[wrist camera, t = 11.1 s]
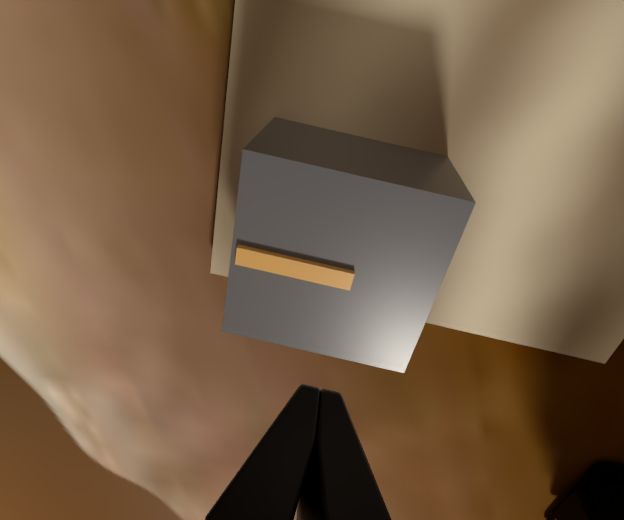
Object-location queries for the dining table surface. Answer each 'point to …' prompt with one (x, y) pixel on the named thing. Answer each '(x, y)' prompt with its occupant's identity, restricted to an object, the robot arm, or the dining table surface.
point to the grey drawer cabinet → (341, 242)
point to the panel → (465, 141)
